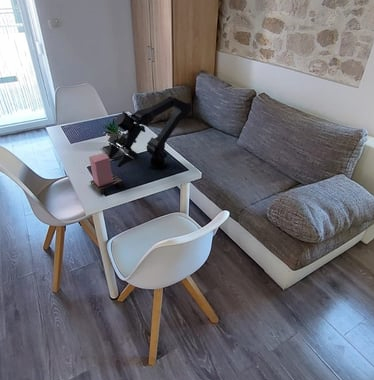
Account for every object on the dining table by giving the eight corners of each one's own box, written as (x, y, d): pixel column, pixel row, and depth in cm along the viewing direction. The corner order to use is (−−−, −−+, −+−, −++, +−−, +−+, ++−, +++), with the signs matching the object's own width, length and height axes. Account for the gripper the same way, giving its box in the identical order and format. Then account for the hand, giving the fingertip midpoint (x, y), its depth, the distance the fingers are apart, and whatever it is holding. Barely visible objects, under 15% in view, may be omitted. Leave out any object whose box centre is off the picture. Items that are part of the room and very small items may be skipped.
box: (107, 176, 150) (103, 152, 143) (112, 181, 146) (109, 157, 139) (93, 181, 146) (89, 156, 139) (99, 186, 142) (94, 162, 135)
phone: (110, 157, 169) (102, 146, 180) (111, 159, 170) (102, 148, 180) (124, 154, 173) (115, 143, 183) (124, 156, 173) (115, 145, 184)
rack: (112, 177, 155) (112, 172, 153) (123, 186, 148) (122, 180, 147) (90, 186, 148) (89, 180, 146) (100, 195, 142) (99, 190, 140)
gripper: (108, 120, 144) (90, 148, 144) (130, 133, 132) (110, 164, 133) (125, 131, 153) (108, 158, 153) (146, 144, 141) (128, 173, 141)
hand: (113, 163), depth 145 cm, fingers open, 9 cm apart
